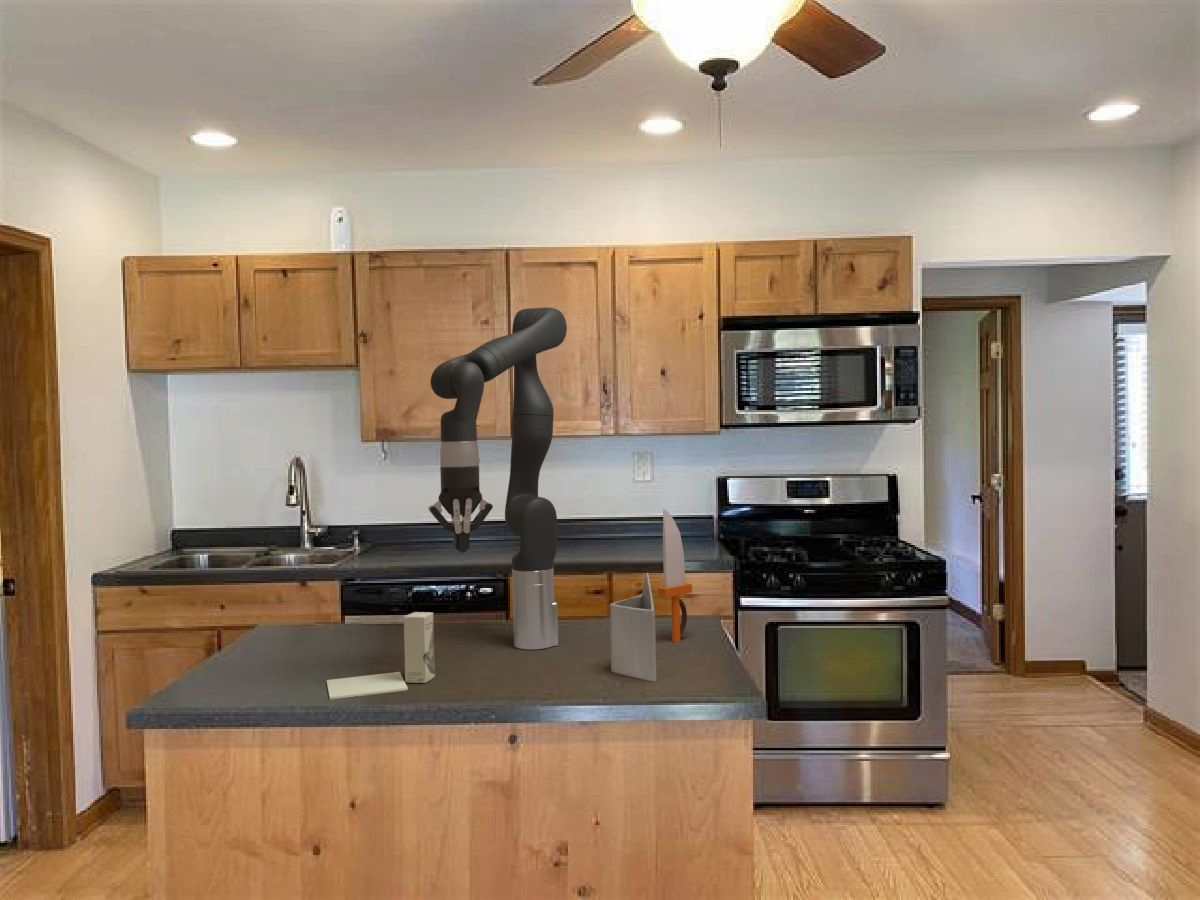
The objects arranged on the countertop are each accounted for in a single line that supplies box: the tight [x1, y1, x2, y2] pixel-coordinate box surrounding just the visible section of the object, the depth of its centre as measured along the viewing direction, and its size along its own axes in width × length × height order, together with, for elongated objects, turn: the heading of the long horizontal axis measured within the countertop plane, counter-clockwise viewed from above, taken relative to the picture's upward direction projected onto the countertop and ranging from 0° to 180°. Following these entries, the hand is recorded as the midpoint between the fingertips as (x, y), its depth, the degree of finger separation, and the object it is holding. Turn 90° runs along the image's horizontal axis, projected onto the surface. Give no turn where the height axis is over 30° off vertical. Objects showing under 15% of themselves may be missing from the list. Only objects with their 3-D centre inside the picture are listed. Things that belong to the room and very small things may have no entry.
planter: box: [609, 572, 657, 683], centre depth 176 cm, size 16×8×19 cm, turn 4°
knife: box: [657, 508, 693, 643], centre depth 199 cm, size 8×2×30 cm, turn 129°
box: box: [403, 611, 436, 684], centre depth 174 cm, size 5×4×13 cm
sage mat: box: [326, 671, 409, 701], centre depth 170 cm, size 14×12×1 cm
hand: (461, 551), depth 176 cm, fingers closed
